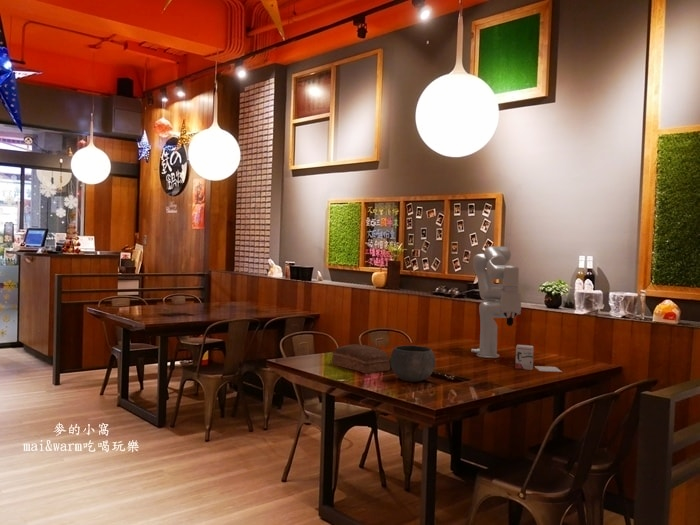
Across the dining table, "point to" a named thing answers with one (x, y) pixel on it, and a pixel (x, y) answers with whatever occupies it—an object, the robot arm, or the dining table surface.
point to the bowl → (412, 362)
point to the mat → (547, 369)
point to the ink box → (524, 357)
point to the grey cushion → (361, 358)
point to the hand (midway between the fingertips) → (509, 325)
